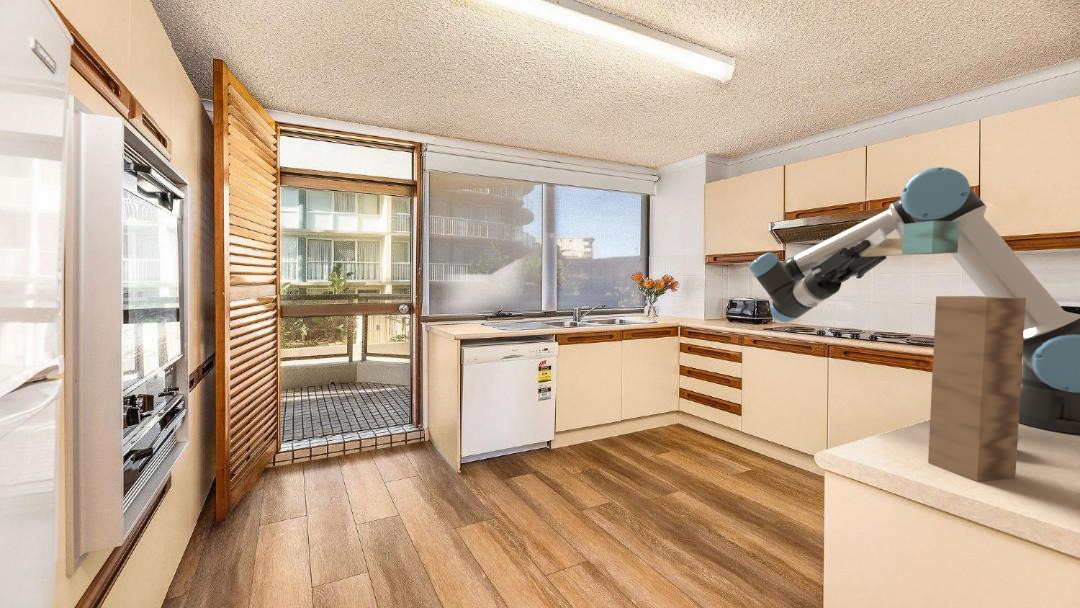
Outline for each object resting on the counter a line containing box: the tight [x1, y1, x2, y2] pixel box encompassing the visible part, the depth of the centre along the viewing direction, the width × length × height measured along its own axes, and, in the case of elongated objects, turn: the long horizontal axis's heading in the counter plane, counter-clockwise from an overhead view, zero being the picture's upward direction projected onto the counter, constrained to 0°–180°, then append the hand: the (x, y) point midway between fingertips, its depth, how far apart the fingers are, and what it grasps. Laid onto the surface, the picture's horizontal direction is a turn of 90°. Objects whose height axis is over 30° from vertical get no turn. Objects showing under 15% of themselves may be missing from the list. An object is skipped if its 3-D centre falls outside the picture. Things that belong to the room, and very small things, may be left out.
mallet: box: [858, 221, 959, 257], centre depth 99 cm, size 6×18×6 cm, turn 11°
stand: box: [927, 295, 1026, 482], centre depth 81 cm, size 8×8×30 cm
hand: (891, 234), depth 101 cm, fingers closed on mallet, 3 cm apart
